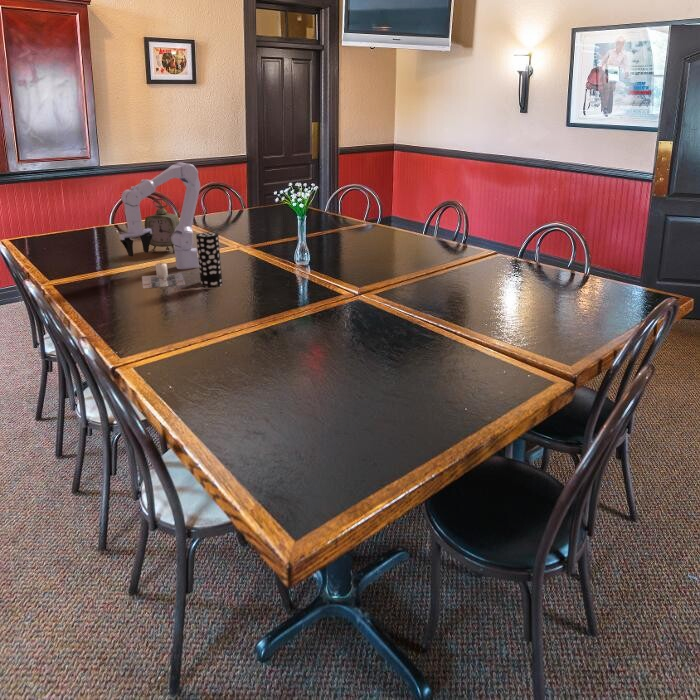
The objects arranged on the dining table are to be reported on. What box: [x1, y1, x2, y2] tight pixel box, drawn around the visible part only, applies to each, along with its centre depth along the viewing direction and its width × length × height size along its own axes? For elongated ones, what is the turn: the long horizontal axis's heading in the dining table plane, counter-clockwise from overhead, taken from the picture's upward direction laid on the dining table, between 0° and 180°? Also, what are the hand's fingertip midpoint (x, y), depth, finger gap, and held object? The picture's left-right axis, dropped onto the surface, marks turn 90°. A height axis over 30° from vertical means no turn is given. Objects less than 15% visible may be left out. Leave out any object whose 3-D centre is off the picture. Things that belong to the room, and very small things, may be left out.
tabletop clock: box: [144, 198, 180, 254], centre depth 308 cm, size 14×9×25 cm, turn 81°
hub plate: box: [141, 272, 186, 289], centre depth 263 cm, size 16×18×2 cm
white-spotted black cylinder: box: [195, 231, 223, 289], centre depth 256 cm, size 8×8×20 cm
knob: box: [155, 262, 169, 278], centre depth 268 cm, size 6×4×5 cm
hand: (138, 254), depth 268 cm, fingers open, 7 cm apart
